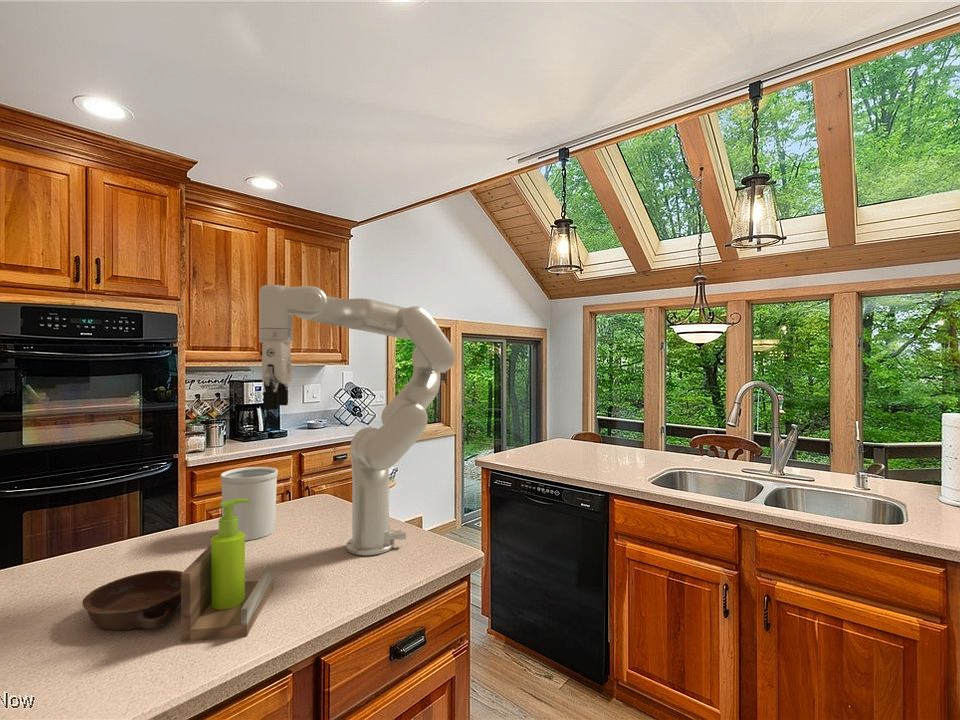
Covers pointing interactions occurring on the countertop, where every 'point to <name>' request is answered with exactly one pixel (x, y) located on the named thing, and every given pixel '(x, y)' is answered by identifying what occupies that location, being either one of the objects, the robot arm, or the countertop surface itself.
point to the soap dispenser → (228, 560)
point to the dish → (135, 601)
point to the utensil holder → (252, 499)
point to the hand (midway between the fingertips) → (276, 407)
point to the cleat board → (215, 623)
